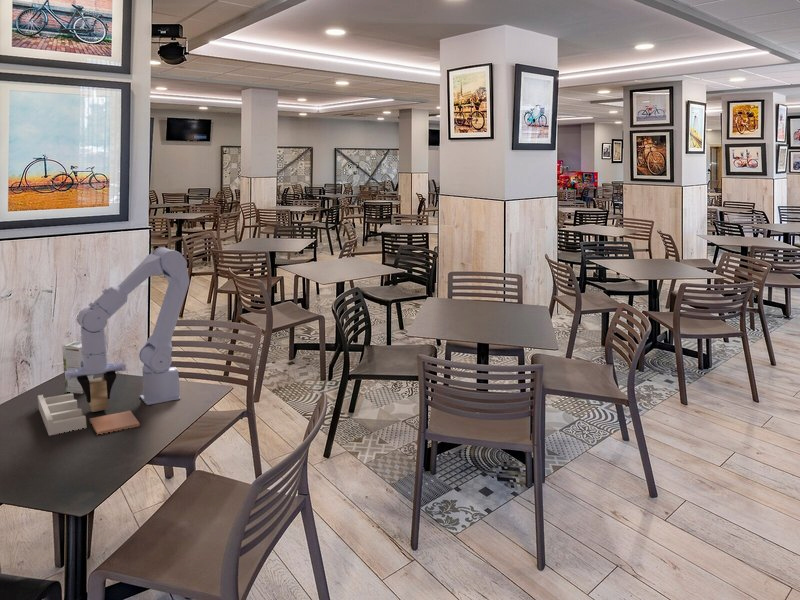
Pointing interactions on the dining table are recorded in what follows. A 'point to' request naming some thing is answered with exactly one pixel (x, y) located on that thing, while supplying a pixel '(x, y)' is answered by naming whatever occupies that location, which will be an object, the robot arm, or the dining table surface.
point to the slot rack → (61, 414)
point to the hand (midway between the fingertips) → (98, 399)
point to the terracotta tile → (114, 422)
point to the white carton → (73, 365)
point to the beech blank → (98, 394)
